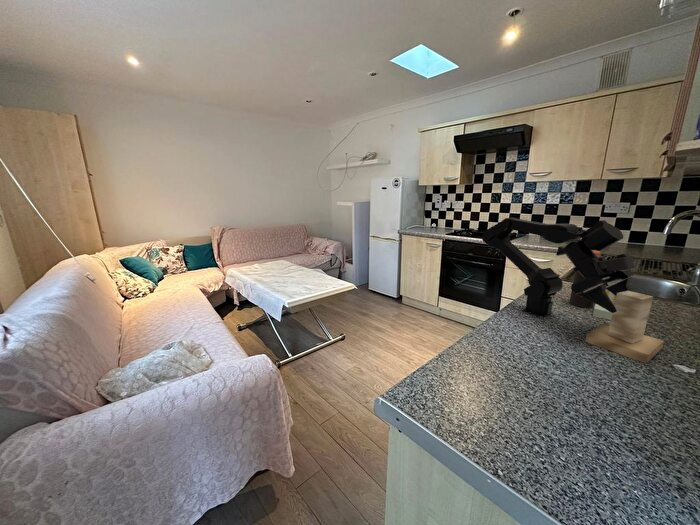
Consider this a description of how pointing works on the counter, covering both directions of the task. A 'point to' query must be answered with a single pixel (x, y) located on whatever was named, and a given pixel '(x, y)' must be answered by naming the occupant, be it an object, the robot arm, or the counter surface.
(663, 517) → the counter surface
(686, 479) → the counter surface
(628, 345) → the oak block
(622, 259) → the robot arm
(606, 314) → the sage block
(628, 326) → the beech post
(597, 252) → the vinegar
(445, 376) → the counter surface
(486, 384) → the counter surface
